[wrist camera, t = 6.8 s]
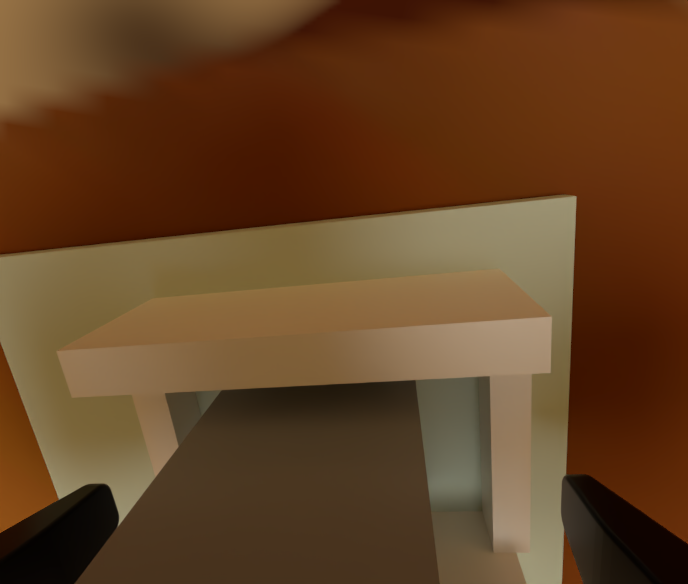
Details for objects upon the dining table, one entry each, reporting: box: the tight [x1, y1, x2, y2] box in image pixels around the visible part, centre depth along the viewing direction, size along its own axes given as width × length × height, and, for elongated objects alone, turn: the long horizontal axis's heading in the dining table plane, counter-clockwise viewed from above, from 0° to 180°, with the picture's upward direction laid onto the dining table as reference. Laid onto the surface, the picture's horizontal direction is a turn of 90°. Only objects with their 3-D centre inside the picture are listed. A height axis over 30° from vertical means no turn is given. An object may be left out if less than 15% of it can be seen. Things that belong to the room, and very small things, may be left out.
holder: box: [56, 269, 552, 584], centre depth 9 cm, size 9×7×3 cm
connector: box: [75, 380, 440, 584], centre depth 7 cm, size 4×4×7 cm
